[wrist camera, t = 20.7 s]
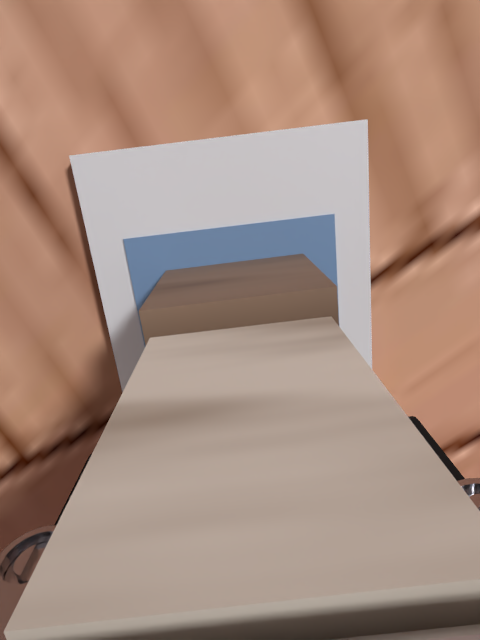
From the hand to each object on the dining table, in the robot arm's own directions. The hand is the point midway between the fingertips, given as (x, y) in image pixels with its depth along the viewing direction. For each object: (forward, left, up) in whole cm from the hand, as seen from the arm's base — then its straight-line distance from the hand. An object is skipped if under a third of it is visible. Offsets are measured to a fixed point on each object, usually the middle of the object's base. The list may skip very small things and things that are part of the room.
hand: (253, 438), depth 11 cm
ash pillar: (0, 0, -1) cm, 1 cm away
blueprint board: (0, 0, -10) cm, 10 cm away
